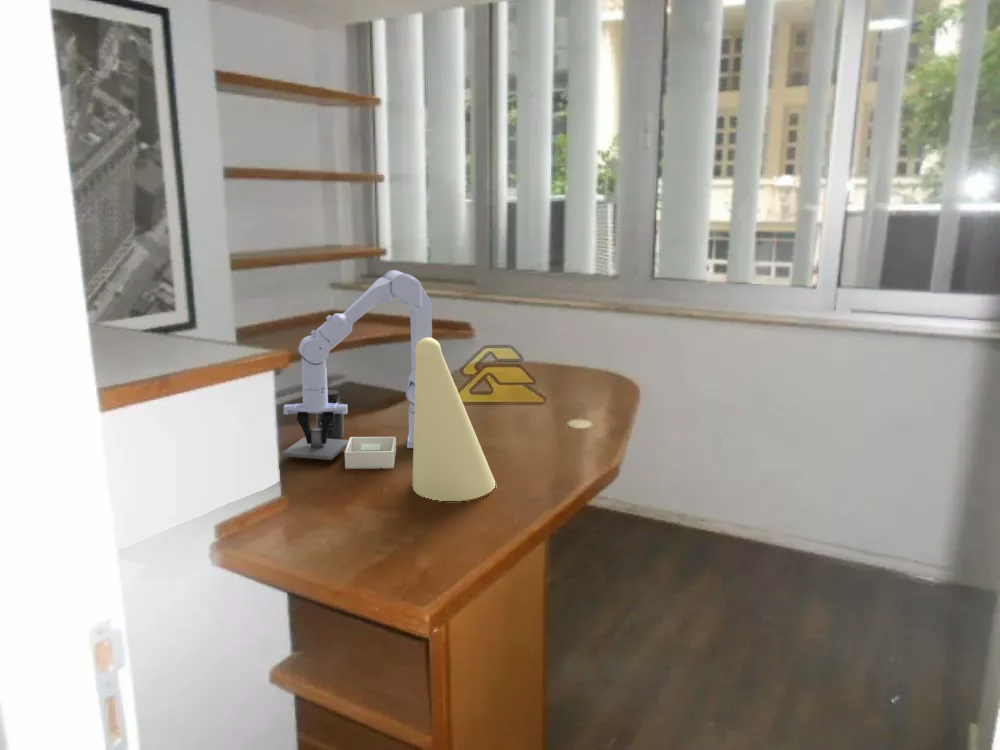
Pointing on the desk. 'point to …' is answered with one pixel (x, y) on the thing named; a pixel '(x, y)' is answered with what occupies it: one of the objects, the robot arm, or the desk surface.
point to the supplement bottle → (337, 421)
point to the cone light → (444, 434)
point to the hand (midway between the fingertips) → (317, 442)
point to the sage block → (371, 447)
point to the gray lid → (316, 447)
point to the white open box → (370, 453)
